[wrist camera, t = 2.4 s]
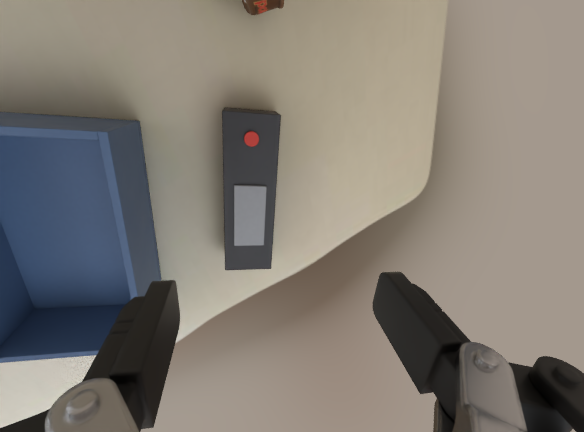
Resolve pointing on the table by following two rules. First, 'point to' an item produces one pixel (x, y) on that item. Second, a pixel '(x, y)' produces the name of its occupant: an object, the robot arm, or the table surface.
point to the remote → (249, 186)
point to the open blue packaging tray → (70, 232)
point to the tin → (261, 5)
